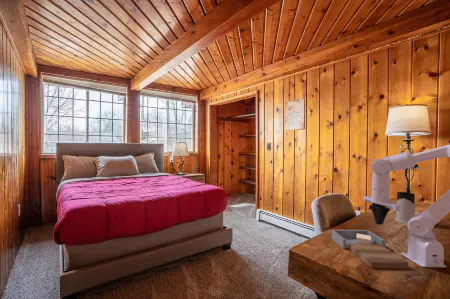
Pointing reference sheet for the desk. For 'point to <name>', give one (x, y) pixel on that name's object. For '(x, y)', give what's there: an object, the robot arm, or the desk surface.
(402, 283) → the desk surface
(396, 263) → the platform
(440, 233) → the desk surface
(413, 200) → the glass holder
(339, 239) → the box
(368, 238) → the tile
